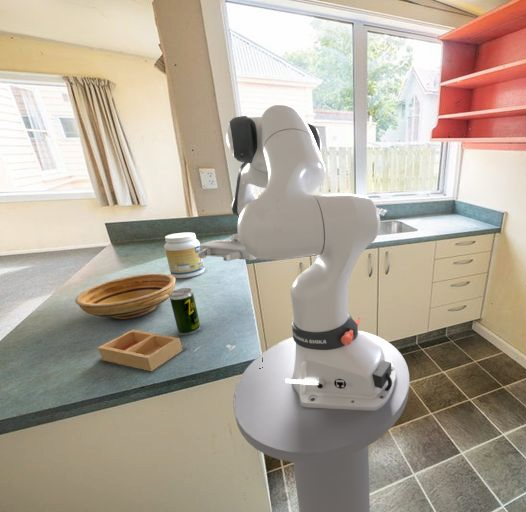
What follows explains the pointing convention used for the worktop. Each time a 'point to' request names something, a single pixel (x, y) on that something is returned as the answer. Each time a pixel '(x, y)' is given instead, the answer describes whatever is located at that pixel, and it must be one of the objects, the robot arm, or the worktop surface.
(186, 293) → the beer can
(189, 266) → the supplement tub
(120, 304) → the tan oval bowl
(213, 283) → the worktop surface
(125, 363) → the socket base
